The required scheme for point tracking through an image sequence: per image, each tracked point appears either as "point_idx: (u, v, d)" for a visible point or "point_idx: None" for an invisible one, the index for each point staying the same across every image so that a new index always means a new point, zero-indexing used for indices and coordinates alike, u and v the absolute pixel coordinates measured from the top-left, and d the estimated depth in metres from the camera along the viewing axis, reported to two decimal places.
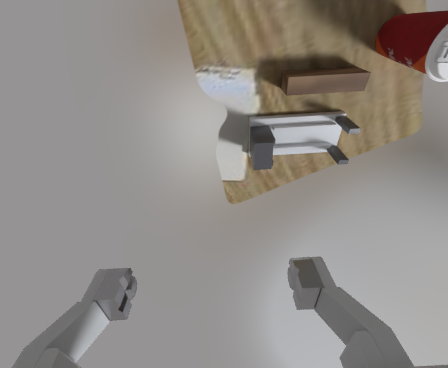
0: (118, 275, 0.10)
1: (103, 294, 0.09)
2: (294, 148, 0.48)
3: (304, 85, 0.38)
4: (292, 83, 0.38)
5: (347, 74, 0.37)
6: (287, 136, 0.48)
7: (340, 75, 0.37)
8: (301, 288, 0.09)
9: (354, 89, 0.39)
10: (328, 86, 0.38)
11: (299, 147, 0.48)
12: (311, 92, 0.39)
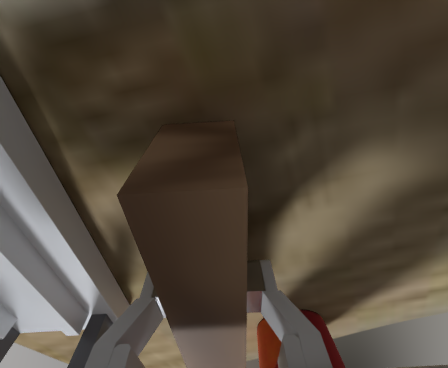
0: None
1: None
2: None
3: (197, 270, 0.07)
4: (206, 215, 0.05)
5: None
6: None
7: (242, 349, 0.10)
8: None
9: None
10: (201, 335, 0.09)
11: None
12: (165, 299, 0.07)
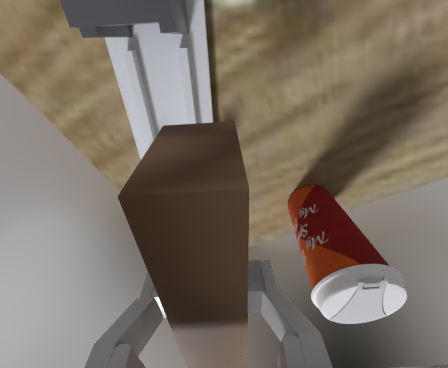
0: None
1: None
2: (142, 109, 0.21)
3: (198, 271, 0.07)
4: (207, 217, 0.05)
5: None
6: (166, 88, 0.22)
7: (243, 350, 0.10)
8: None
9: None
10: (202, 336, 0.09)
11: (146, 120, 0.22)
12: (166, 300, 0.07)
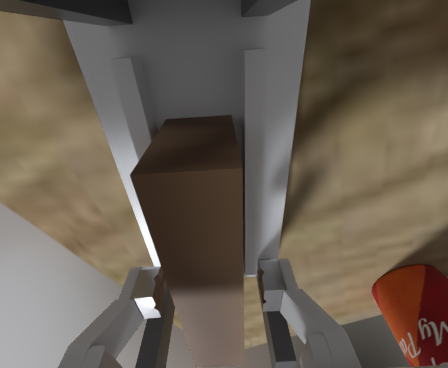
0: (152, 273, 0.10)
1: (140, 292, 0.09)
2: None
3: (198, 246, 0.07)
4: (206, 194, 0.06)
5: None
6: None
7: (240, 327, 0.11)
8: (264, 290, 0.09)
9: (197, 355, 0.12)
10: (202, 312, 0.10)
11: None
12: (170, 275, 0.08)
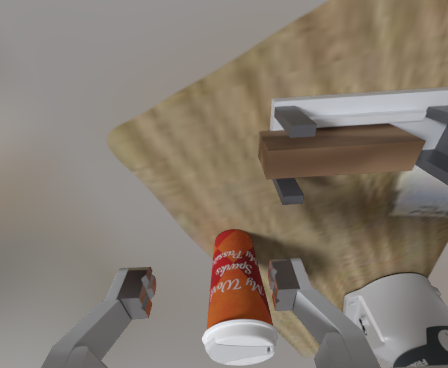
0: (140, 274, 0.10)
1: (126, 293, 0.09)
2: (375, 120, 0.22)
3: (386, 158, 0.20)
4: (408, 161, 0.20)
5: (306, 175, 0.21)
6: None
7: (319, 174, 0.21)
8: (277, 289, 0.09)
9: (288, 152, 0.19)
10: (340, 157, 0.20)
11: (363, 122, 0.22)
12: (374, 146, 0.19)
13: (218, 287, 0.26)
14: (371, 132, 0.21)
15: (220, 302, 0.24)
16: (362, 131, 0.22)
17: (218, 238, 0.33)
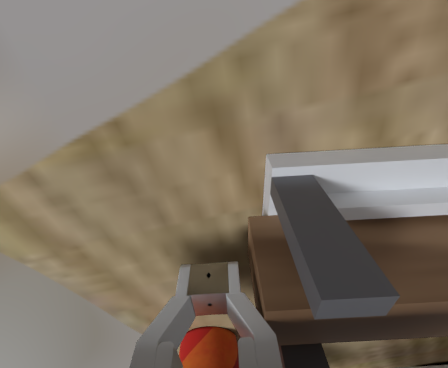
0: (204, 270, 0.10)
1: (195, 289, 0.09)
2: None
3: None
4: None
5: None
6: None
7: (381, 339, 0.09)
8: (207, 293, 0.09)
9: None
10: (437, 316, 0.08)
11: None
12: None
13: None
14: None
15: None
16: None
17: (185, 341, 0.22)
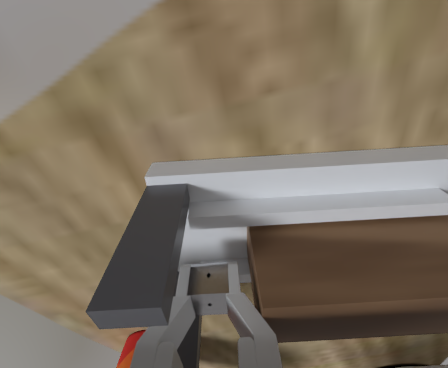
0: (204, 270, 0.10)
1: (195, 289, 0.09)
2: (353, 215, 0.11)
3: None
4: None
5: None
6: None
7: (379, 336, 0.09)
8: (207, 293, 0.09)
9: (312, 309, 0.08)
10: (434, 313, 0.08)
11: (329, 217, 0.11)
12: None
13: None
14: None
15: None
16: None
17: (126, 344, 0.22)
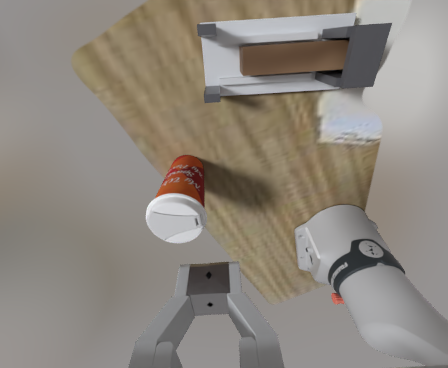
0: (203, 270, 0.10)
1: (194, 289, 0.09)
2: (279, 38, 0.28)
3: (335, 55, 0.26)
4: None
5: (274, 72, 0.27)
6: None
7: (284, 71, 0.26)
8: (208, 293, 0.09)
9: (258, 49, 0.25)
10: (299, 54, 0.26)
11: (270, 39, 0.28)
12: (325, 43, 0.25)
13: (163, 184, 0.32)
14: None
15: (161, 190, 0.30)
16: None
17: (173, 162, 0.39)
